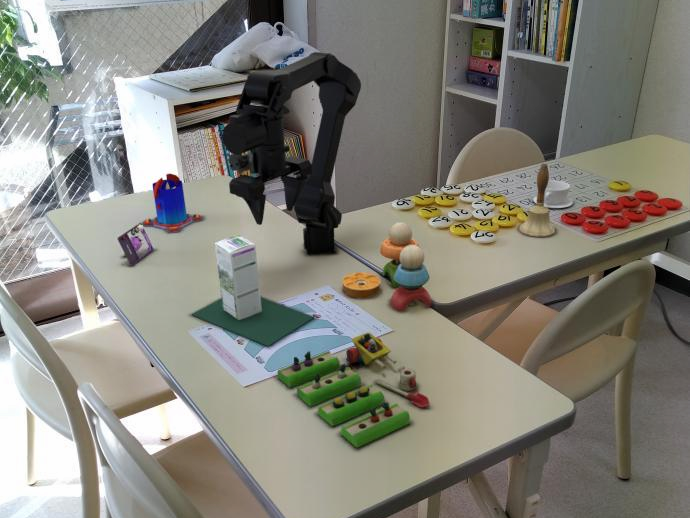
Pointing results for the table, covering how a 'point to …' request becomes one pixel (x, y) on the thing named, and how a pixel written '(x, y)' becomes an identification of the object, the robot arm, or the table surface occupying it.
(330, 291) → the table surface
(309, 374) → the toy garden set
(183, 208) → the fantasy tower
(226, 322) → the green mat
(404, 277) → the wooden stacking toy
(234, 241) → the syrup box
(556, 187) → the teacup
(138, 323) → the table surface
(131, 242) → the game card
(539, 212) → the hand bell
